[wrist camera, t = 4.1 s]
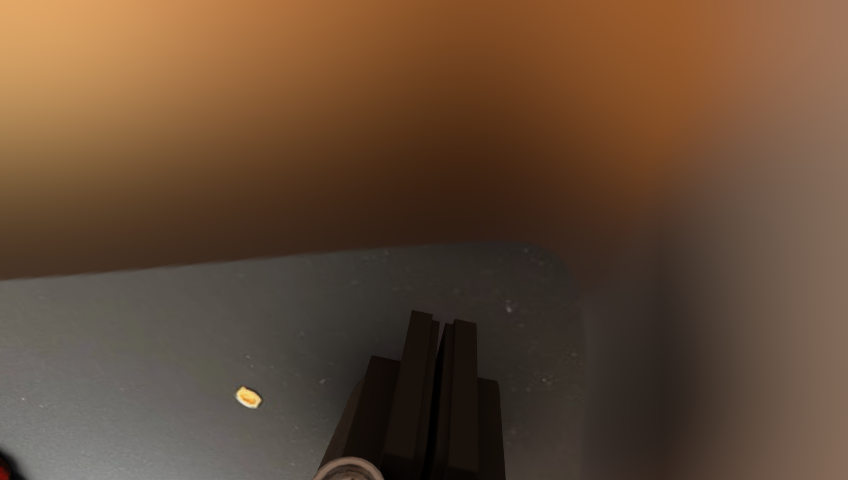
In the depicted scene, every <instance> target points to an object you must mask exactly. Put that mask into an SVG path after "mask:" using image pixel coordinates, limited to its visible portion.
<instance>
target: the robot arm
mask: <svg viewBox="0 0 848 480" xmlns="http://www.w3.org/2000/svg"><path fill="white" fill-rule="evenodd" d="M432 316H433V315H432V314H429V313H424V312H419V311H414V310H412V313H411V318H410V323H409V327H408V332H407V337H406V342H405V346H404V351H403V356H402V361H396V360H392V359H387V358H382V357H377V356H372V357H371V359H370V363H369V366H368V369H367V373H366V376H365V380H364V383H363V386H362V390H361V393H360V397H359V400H358V403H357V407H356V410H355V414H354V417H353V420H352V424H351V427H350V431H349V434H348V437H347V441H346V444H345V448H344V451H343V455H342V457H340V458H337V459H335V460H332V461H330V462H328V463H327V464H325V465H324V466H323V467H322V468H320V469H319V470H318V472H317V473H316V474H315V476H314V477H313V479H312V480H506V477H505V463H504V450H503V436H502V422H501V408H500V394H499V385H498V382H497V381H493V380H488V379H483V378H478V377H477V327H476V323H472V322H467V321H462V320H458V319H455V320H454V323H453V324H449V323H446V324H445V327H444V331H443V335H442V339H441V342H440V346H439V350H438V354H437V358H436V353H437V343H438V334H439V324H440V322H439V321H434V320H432Z"/></svg>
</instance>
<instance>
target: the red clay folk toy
mask: <svg viewBox="0 0 848 480" xmlns="http://www.w3.org/2000/svg"><path fill="white" fill-rule="evenodd" d="M0 480H11V472H10V468H9V466H8V465H7V463H6V462H5V461H4V460H3V459H1V458H0Z"/></svg>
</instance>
